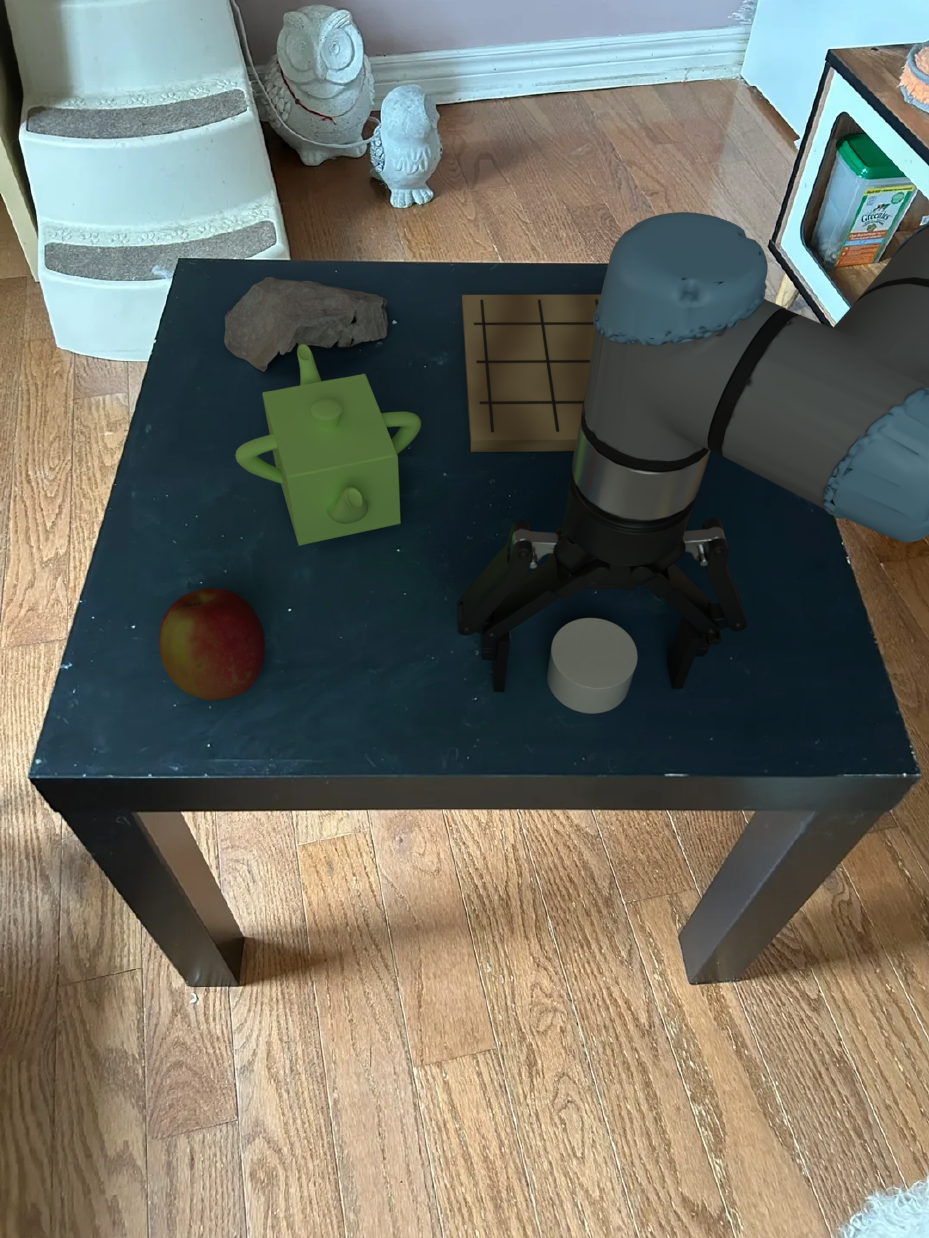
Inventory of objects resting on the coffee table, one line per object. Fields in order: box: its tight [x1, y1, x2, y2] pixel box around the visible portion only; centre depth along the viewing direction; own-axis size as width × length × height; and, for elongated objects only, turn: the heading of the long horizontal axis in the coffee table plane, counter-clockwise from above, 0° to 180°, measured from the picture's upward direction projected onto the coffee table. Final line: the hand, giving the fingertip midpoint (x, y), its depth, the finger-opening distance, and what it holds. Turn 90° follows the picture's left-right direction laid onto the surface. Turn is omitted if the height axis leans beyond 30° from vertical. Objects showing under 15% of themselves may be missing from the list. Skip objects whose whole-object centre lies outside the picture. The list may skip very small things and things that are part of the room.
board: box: [461, 294, 601, 453], centre depth 95 cm, size 24×22×2 cm
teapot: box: [235, 344, 422, 546], centre depth 80 cm, size 15×13×11 cm
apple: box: [158, 587, 266, 701], centre depth 70 cm, size 8×8×8 cm
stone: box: [223, 276, 389, 373], centre depth 96 cm, size 15×8×15 cm
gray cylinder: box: [546, 617, 639, 715], centre depth 73 cm, size 6×6×4 cm
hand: (586, 675), depth 74 cm, fingers open, 13 cm apart
